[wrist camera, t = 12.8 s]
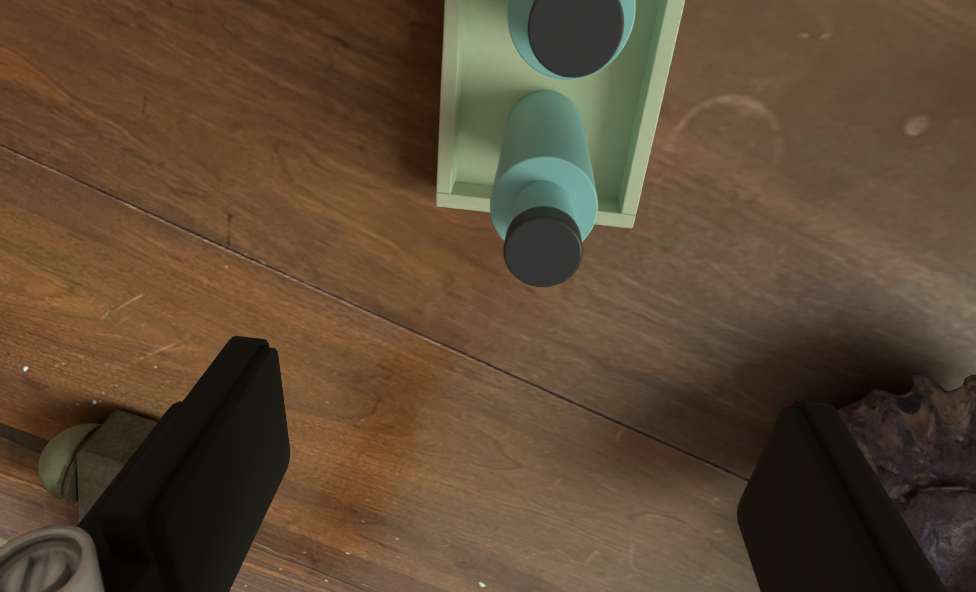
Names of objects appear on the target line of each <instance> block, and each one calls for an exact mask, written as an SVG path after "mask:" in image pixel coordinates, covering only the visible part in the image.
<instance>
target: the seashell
mask: <svg viewBox="0 0 976 592" xmlns="http://www.w3.org/2000/svg"><path fill="white" fill-rule="evenodd" d="M837 412H838V414H839V415H840V417H841V419H842V420H843V422H844V423H845V425H846V427H847V428H848V430H849V432H850V433H851V435H852V437H853V438H854V440H855V441H856V443H857V445H858V446H859V448H860V450H861V451H862V453H863V454H864V456H865V458H866V459H867V461H868V463H869V464H870V466H871V467H872V469H873V471H874V472H875V474H876V476H877V477H878V479H879V481H880V482H881V484H882V485H883V487H884V489H885V490H886V492H887V494H888V495H889V497H890V498H891V500H892V502H893V503H894V505H895V507H896V508H897V510H898V512H899V513H900V515H901V516H902V518H903V520H904V521H905V523H906V525H907V526H908V528H909V529H910V531H911V533H912V534H913V536H914V538H915V539H916V541H917V542H918V544H919V546H920V547H921V549H922V551H923V552H924V554H925V556H926V557H927V559H928V560H929V562H930V564H931V565H932V567H933V569H934V570H935V572H936V573H937V575H938V577H939V578H940V580H941V582H942V583H943V585H944V587H945V588H946V590H947V591H948V592H976V375H970V376H968V377H966V378H965V379H964V383H963V386H962V387H960V388H957V389H955V390H952V391H945V390H944V389H943V388H942V387H941V386H939V385H938V384H937V383H936V382H935V381H934V380H933V379H932V378H931V377H929V376H927V375H925V374H919V375H913V378H912V387H911V391H910V392H909V393H907V394H905V395H901V396H898V395H894V394H891V393H889V392H887V391H884V390H878V389H874V390H870V392H869V394H868V395H867V396H866V397H865V398H864V399H862V400H860V401H857V402H855V403H852V404H850V405H847V406H844V407H842V408H840V409H838V410H837Z"/></svg>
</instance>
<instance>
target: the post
mask: <svg viewBox="0 0 976 592" xmlns="http://www.w3.org/2000/svg"><path fill="white" fill-rule="evenodd" d="M157 423H158V422H156V421H153V420H150V419H147V418H143V417H140V416H137V415H134V414H131V413H127V412H124V411H121V410H115V411H114V412H113V413H112V414H111V415H110V416H109V417H108V419H107V420H106V421H105V422H104V423H103V424H102V425H101V424H92V423H88V424H80V425H76V426H73V427H70V428H68V429H65V430H64V431H62V432H60V433H59V434H57V435H56V436H55V437H54V438H52V439H51V440H50V442H49V443H48V444H47V445H46V446H45V448H44V450H43V452H42V454H41V456H40V459H39V464H38V472H39V478H40V480H41V482H42V484H43V486H44V487H45V489H46V490H47V491H48V492H49V493H51V494H52V495H53V496H55V497H57V498H59V499H61V500H66V501H68V502H77V501H78V512H79V523H80V522H81V520H82V519H83V518H84V516H85V515H86V514H87V513H88V511H89V510H90V509H91V507H92V506H93V505H94V504H95V502H96V501H97V500H98V498H99V497H100V496H101V495H102V493H103V492H104V491H105V489H106V488H107V487H108V486H109V484H110V483H111V482H112V480H113V479H114V478H115V477H116V475H117V474H118V473H119V472H120V470H121V469H122V468H123V466H124V465H125V464H126V463H127V461H128V460H129V459H130V457H131V456H132V455H133V454H134V452H135V451H136V450H137V448H138V447H139V446H140V445H141V443H142V442H143V441H144V439H145V438H146V437H147V436H148V434H149V433H150V432H151V430H152V429H153V428H154V427H155V425H156V424H157Z"/></svg>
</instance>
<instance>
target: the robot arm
mask: <svg viewBox="0 0 976 592" xmlns="http://www.w3.org/2000/svg"><path fill="white" fill-rule="evenodd" d="M289 459H290V445H289V437H288V429H287V421H286V413H285V405H284V397H283V389H282V381H281V373H280V365H279V357H278V352H277V350H276V349H275V348H269V343H268V342H267V340H265V339H258V338H249V337H241V336H234V337H232V338H231V339H230V340H229V341H228V343H227V344H226V345H225V347H224V348H223V349H222V350H221V352H220V353H219V354H218V356H217V357H216V358H215V360H214V361H213V362H212V364H211V365H210V366H209V368H208V369H207V370H206V371H205V373H204V374H203V375H202V377H201V378H200V379H199V381H198V382H197V383H196V385H195V386H194V387H193V389H192V390H191V391H190V393H189V394H188V395H187V396H186V398H185V399H184V400H183V402H180V401H179V402H177V403H175V404H173V405H172V406H171V407H170V408H169V409H168V410H167V411H166V412H165V414H164V415H163V416H162V418H161V419H160V420H159V421H158V423H157V424H156V425H155V427H154V428H153V429H152V430H151V432H150V433H149V434H148V436H147V437H146V438H145V439H144V441H143V442H142V443H141V445H140V446H139V447H138V448H137V450H136V451H135V452H134V454H133V455H132V456H131V457H130V459H129V460H128V461H127V463H126V464H125V465H124V466H123V468H122V469H121V470H120V472H119V473H118V474H117V475H116V477H115V478H114V479H113V480H112V482H111V483H110V484H109V486H108V487H107V488H106V489H105V491H104V492H103V493H102V495H101V496H100V497H99V498H98V500H97V501H96V502H95V504H94V505H93V506H92V507H91V509H90V510H89V511H88V513H87V514H86V515H85V516H84V518H83V519H82V520H81V522H80V523H79V524H78V525H77V527H74V526H69V525H54V526H46V527H42V528H39V529H35V530H32V531H29V532H27V533H25V534H22V535H20V536H18V537H16V538H14V539H12V540H10V541H9V542H7V543H6V544H4V545H3V546H2V547H0V592H229V591H230V589H231V587H232V584H233V582H234V580H235V578H236V576H237V574H238V572H239V570H240V568H241V565H242V563H243V561H244V559H245V557H246V555H247V553H248V551H249V548H250V546H251V544H252V542H253V540H254V538H255V536H256V534H257V532H258V529H259V527H260V525H261V523H262V521H263V519H264V517H265V515H266V512H267V510H268V508H269V506H270V504H271V502H272V500H273V498H274V496H275V493H276V491H277V489H278V487H279V485H280V483H281V481H282V479H283V476H284V474H285V472H286V470H287V467H288V464H289ZM737 519H738V524H739V527H740V530H741V534H742V537H743V540H744V543H745V546H746V549H747V552H748V555H749V558H750V561H751V564H752V567H753V570H754V573H755V576H756V579H757V582H758V585H759V588H760V591H761V592H948V591H947V590H946V588H945V587H944V585H943V583H942V582H941V580H940V578H939V577H938V575H937V573H936V572H935V570H934V569H933V567H932V565H931V564H930V562H929V560H928V559H927V557H926V556H925V554H924V552H923V551H922V549H921V547H920V546H919V544H918V542H917V541H916V539H915V538H914V536H913V534H912V533H911V531H910V529H909V528H908V526H907V525H906V523H905V521H904V520H903V518H902V516H901V515H900V513H899V512H898V510H897V508H896V507H895V505H894V503H893V502H892V500H891V498H890V497H889V495H888V494H887V492H886V490H885V489H884V487H883V485H882V484H881V482H880V481H879V479H878V477H877V476H876V474H875V472H874V471H873V469H872V467H871V466H870V464H869V463H868V461H867V459H866V458H865V456H864V454H863V453H862V451H861V450H860V448H859V446H858V445H857V443H856V441H855V440H854V438H853V437H852V435H851V433H850V432H849V430H848V428H847V427H846V425H845V423H844V422H843V420H842V419H841V417H840V415H839V414H838V412H837V410H836V409H835V408H834V407H833V406H832V405H830V404H826V403H817V402H809V401H800V400H799V401H795V402H794V403H792V405H791V406H790V407H784V408H783V409H782V410H781V412H780V413H779V416H778V418H777V420H776V422H775V424H774V427H773V429H772V431H771V433H770V435H769V438H768V440H767V442H766V444H765V447H764V449H763V451H762V453H761V455H760V458H759V460H758V462H757V464H756V466H755V469H754V471H753V473H752V475H751V477H750V480H749V482H748V484H747V486H746V488H745V491H744V493H743V495H742V497H741V499H740V502H739V504H738V509H737Z"/></svg>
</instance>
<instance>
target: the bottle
mask: <svg viewBox="0 0 976 592" xmlns="http://www.w3.org/2000/svg"><path fill="white" fill-rule="evenodd" d="M597 213H598V198H597V192H596V187H595V182H594V177H593V172H592V167H591V162H590V157H589V151H588V146H587V141H586V136H585V131H584V126H583V121H582V117H581V114H580V112H579V109H578V108H577V106H576V105H575V104H574V103H573V101H571V100H570V99H569V98H568V97H566V96H565V95H563V94H561V93H558V92H555V91H547V90H544V91H537V92H534V93H531V94H529V95H527V96H525V97H524V98H522V99H521V100H520V101H519V102H518V103H517V104H516V105H515V106H514V108H513V109H512V111H511V113H510V115H509V118H508V122H507V126H506V131H505V135H504V140H503V144H502V149H501V153H500V158H499V162H498V166H497V171H496V175H495V180H494V184H493V189H492V193H491V199H490V216H491V219H492V223H493V225H494V228H495V229H496V231H497V233H498V234H499V236H500V237H501V238H502V239H503V240H504V241H505V243H504V259H505V263H506V265H507V267H508V269H509V270H510V272H511V273H512V274H513V275H514V276H515V277H516V278H517V279H519V280H520V281H522V282H524V283H526V284H528V285H531V286H536V287H550V286H554V285H558V284H560V283H562V282H564V281H566V280H567V279H568V278H570V277H571V276H572V275H573V274H574V273H575V271H576V270H577V268H578V267H579V265H580V262H581V259H582V253H583V252H582V241H583V240H584V239H585V238H586V237H587V236H588V234H589V233H590V232H591V230H592V228H593V226H594V224H595V221H596V218H597Z"/></svg>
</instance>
